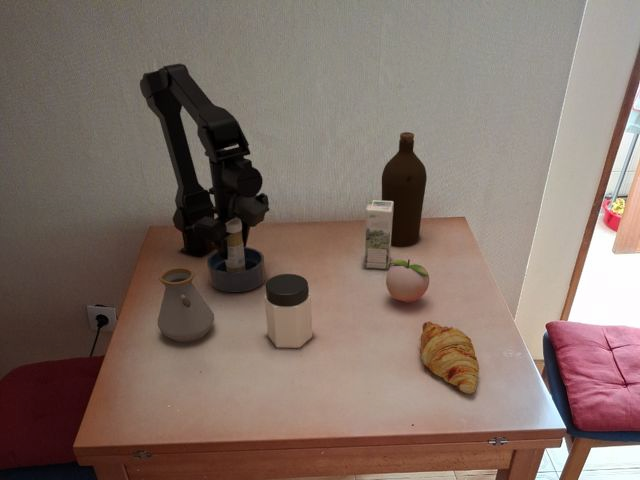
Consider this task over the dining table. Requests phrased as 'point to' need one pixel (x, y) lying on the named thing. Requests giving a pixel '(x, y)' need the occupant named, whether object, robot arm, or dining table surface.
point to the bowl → (237, 280)
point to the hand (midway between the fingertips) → (234, 252)
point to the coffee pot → (183, 307)
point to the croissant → (450, 356)
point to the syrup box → (378, 234)
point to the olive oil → (405, 191)
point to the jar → (288, 310)
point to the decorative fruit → (407, 280)
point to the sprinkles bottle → (235, 247)
